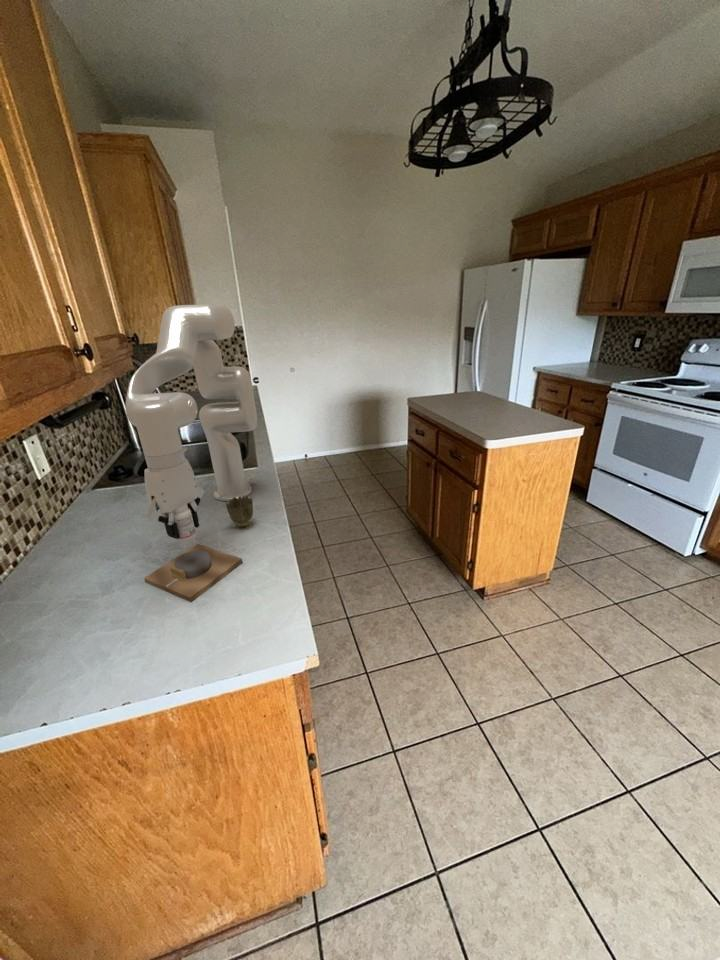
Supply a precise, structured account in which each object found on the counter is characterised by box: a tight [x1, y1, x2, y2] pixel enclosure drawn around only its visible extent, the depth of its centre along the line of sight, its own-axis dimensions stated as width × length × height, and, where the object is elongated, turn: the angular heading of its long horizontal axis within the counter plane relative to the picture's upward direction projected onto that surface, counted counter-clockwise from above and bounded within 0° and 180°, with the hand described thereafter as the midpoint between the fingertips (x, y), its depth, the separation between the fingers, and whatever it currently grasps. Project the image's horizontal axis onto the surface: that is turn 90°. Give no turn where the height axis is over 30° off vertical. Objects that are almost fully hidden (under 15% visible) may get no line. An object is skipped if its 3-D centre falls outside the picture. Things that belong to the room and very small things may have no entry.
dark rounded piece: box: [225, 496, 254, 529], centre depth 115 cm, size 8×7×8 cm
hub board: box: [143, 543, 244, 603], centre depth 96 cm, size 16×16×4 cm
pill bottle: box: [174, 504, 196, 541], centre depth 91 cm, size 5×5×8 cm
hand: (184, 530), depth 92 cm, fingers closed on pill bottle, 4 cm apart
